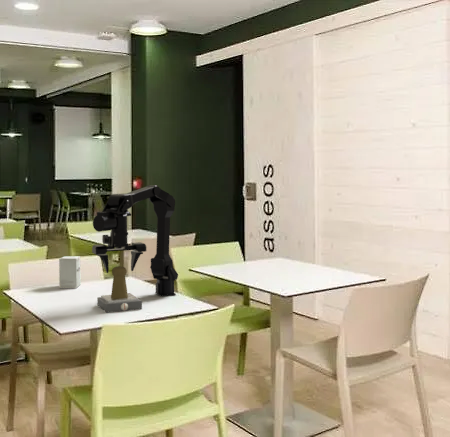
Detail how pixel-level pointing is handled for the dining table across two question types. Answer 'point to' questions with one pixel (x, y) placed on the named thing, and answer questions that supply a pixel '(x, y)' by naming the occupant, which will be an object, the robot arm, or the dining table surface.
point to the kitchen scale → (119, 303)
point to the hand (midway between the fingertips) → (119, 271)
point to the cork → (119, 283)
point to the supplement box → (69, 272)
